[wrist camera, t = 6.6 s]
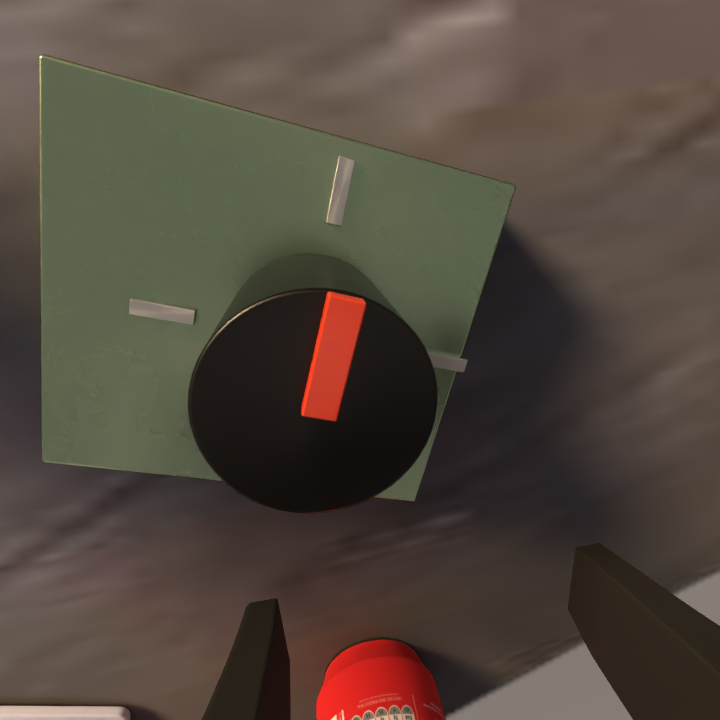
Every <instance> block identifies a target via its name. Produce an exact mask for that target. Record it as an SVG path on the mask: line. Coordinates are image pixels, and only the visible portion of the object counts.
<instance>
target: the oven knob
mask: <svg viewBox="0 0 720 720" xmlns="http://www.w3.org/2000/svg"><path fill="white" fill-rule="evenodd" d="M437 403H438V390H437V382H436V375H435V371H434V368H433V365H432V362H431V359H430V357H429V355H428V353H427V351H426V348H425V346H424V345H423V343H422V342H421V340H420V339H419V337H418V336H417V334H416V333H415V332H414V331H413V330H412V328H411V327H410V326H409V325H408V324H407V322H406V321H405V320H404V319H403V318H402V317H401V315H400V314H399V313H398V312H397V311H396V310H395V308H394V307H393V306H392V305H391V304H390V303H389V301H388V300H387V299H386V298H385V297H384V296H383V294H382V293H381V292H380V291H379V290H378V289H377V287H376V286H375V285H374V284H373V283H372V282H371V281H370V280H369V278H368V277H366V276H365V275H364V274H363V273H362V272H360V271H359V270H358V269H356V268H354V267H353V266H351V265H350V264H347V263H345V262H343V261H341V260H338V259H335V258H332V257H328V256H322V255H311V254H304V255H294V256H290V257H286V258H282V259H279V260H277V261H274V262H272V263H270V264H268V265H266V266H265V267H263V268H261V269H260V270H259V271H257V272H256V273H254V274H253V275H252V276H251V277H250V278H249V279H248V280H247V281H246V282H245V283H244V284H243V286H242V287H241V288H240V290H239V291H238V292H237V294H236V296H235V297H234V299H233V301H232V302H231V304H230V305H229V307H228V309H227V310H226V312H225V314H224V315H223V317H222V319H221V320H220V322H219V323H218V325H217V327H216V328H215V330H214V332H213V333H212V335H211V337H210V338H209V340H208V341H207V343H206V345H205V346H204V348H203V350H202V352H201V354H200V355H199V357H198V359H197V362H196V364H195V367H194V369H193V372H192V375H191V380H190V385H189V389H188V415H189V422H190V426H191V430H192V434H193V437H194V439H195V442H196V444H197V447H198V449H199V451H200V453H201V454H202V456H203V458H204V459H205V461H206V463H207V464H208V465H209V466H210V468H211V469H212V470H213V471H214V473H215V474H216V475H217V476H218V477H219V478H220V479H221V480H222V481H223V482H225V483H226V484H227V485H228V486H229V487H231V488H232V489H233V490H235V491H236V492H238V493H239V494H241V495H243V496H245V497H246V498H248V499H250V500H252V501H254V502H257V503H259V504H262V505H264V506H267V507H271V508H274V509H278V510H283V511H289V512H296V513H322V512H329V511H336V510H340V509H344V508H348V507H352V506H354V505H357V504H360V503H362V502H365V501H367V500H369V499H371V498H373V497H375V496H377V495H379V494H380V493H382V492H383V491H385V490H386V489H388V488H389V487H391V486H392V485H393V484H394V483H396V482H397V481H398V480H399V479H400V478H402V476H403V475H404V474H405V473H406V472H407V471H408V470H409V469H410V468H411V467H412V466H413V464H414V463H415V462H416V460H417V459H418V458H419V456H420V455H421V453H422V451H423V449H424V448H425V446H426V444H427V442H428V439H429V437H430V435H431V432H432V429H433V425H434V422H435V418H436V411H437Z"/></svg>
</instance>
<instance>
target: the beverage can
mask: <svg viewBox="0 0 720 720" xmlns="http://www.w3.org/2000/svg"><path fill="white" fill-rule="evenodd" d="M316 710H317V720H446V718H445V715H444V711H443V708H442V704H441V701H440V697H439V694H438V690H437V687H436V683H435V680H434V678H433V676H432V674H431V673H430V671H429V670H428V669H427V668H426V667H425V666H424V664H423V663H422V662H421V661H420V659H419V656H418V654H417V653H416V651H415V650H414V649H413V648H412V647H411V646H409V645H408V644H406V643H404V642H402V641H399V640H395V639H389V638H375V639H369V640H364V641H361V642H358V643H355V644H353V645H351V646H349V647H347V648H345V649H344V650H342V651H341V652H340V653H338V654H337V655H336V656H335V657H334V658H333V659H332V661H331V662H330V663H329V665H328V667H327V669H326V672H325V677H324V683H323V686H322V688H321V691H320V693H319V696H318V699H317V705H316Z"/></svg>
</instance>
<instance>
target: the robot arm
mask: <svg viewBox="0 0 720 720" xmlns="http://www.w3.org/2000/svg"><path fill="white" fill-rule="evenodd" d="M568 610H569V612H570V614H571V616H572V618H573V620H574V622H575V624H576V626H577V628H578V630H579V632H580V634H581V636H582V638H583V640H584V642H585V644H586V645H587V647H588V649H589V651H590V653H591V655H592V656H593V658H594V659H595V661H596V663H597V664H598V666H599V668H600V669H601V671H602V672H603V674H604V675H605V677H606V678H607V680H608V681H609V683H610V685H611V686H612V688H613V689H614V691H615V692H616V694H617V695H618V697H619V699H620V700H621V702H622V703H623V705H624V706H625V708H626V709H627V711H628V712H629V714H630V715H631V717H632V718H633V720H720V626H719V625H717V624H716V623H714V622H713V621H711V620H710V619H708V618H707V617H705V616H704V615H702V614H701V613H699V612H697V611H696V610H695V609H693V608H692V607H690V606H689V605H687V604H686V603H684V602H683V601H681V600H680V599H679V598H677V597H676V596H674V595H673V594H671V593H670V592H669V591H667V590H666V589H664V588H663V587H661V586H660V585H659V584H657V583H656V582H654V581H653V580H651V579H650V578H649V577H647V576H646V575H644V574H643V573H641V572H640V571H639V570H637V569H636V568H634V567H633V566H632V565H630V564H629V563H627V562H626V561H625V560H623V559H622V558H620V557H619V556H617V555H616V554H615V553H613V552H612V551H610V550H609V549H607V548H606V547H604V546H603V545H601V544H600V543H598V544H592V545H586V546H580V547H576V550H575V558H574V565H573V573H572V581H571V588H570V596H569V604H568ZM130 717H131V714H130V711H129V710H128V709H127V708H125V707H120V706H0V720H130ZM202 720H290V660H289V655H288V650H287V645H286V640H285V635H284V630H283V625H282V620H281V615H280V610H279V605H278V600H277V598H276V599H270V600H264V601H258V602H252V603H250V604H249V605H248V606H247V607H246V609H245V612H244V616H243V619H242V622H241V625H240V628H239V630H238V633H237V636H236V639H235V642H234V644H233V647H232V650H231V652H230V655H229V657H228V660H227V662H226V665H225V667H224V670H223V672H222V675H221V677H220V679H219V681H218V684H217V686H216V688H215V691H214V693H213V695H212V698H211V700H210V702H209V705H208V707H207V709H206V712H205V714H204V716H203V718H202Z"/></svg>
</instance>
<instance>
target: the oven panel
mask: <svg viewBox="0 0 720 720" xmlns="http://www.w3.org/2000/svg"><path fill="white" fill-rule="evenodd" d="M39 135H40V309H41V460H42V461H43V462H48V463H57V464H66V465H76V466H85V467H94V468H104V469H113V470H122V471H131V472H141V473H150V474H159V475H169V476H178V477H187V478H196V479H206V480H215V481H222V480H221V479H220V478H219V477H218V476H217V475H216V474H215V473H214V471H213V470H212V469H211V468H210V466H209V465H208V464H207V463H206V461H205V459H204V458H203V456H202V454H201V453H200V451H199V449H198V447H197V444H196V442H195V439H194V437H193V434H192V430H191V426H190V422H189V415H188V389H189V385H190V380H191V375H192V372H193V369H194V367H195V364H196V362H197V359H198V357H199V355H200V354H201V352H202V350H203V348H204V346H205V345H206V343H207V341H208V340H209V338H210V337H211V335H212V333H213V332H214V330H215V328H216V327H217V325H218V323H219V322H220V320H221V319H222V317H223V315H224V314H225V312H226V310H227V309H228V307H229V305H230V304H231V302H232V301H233V299H234V297H235V296H236V294H237V292H238V291H239V290H240V288H241V287H242V286H243V284H244V283H245V282H246V281H247V280H248V279H249V278H250V277H251V276H252V275H253V274H254V273H256V272H257V271H259V270H260V269H261V268H263V267H265V266H266V265H268V264H270V263H272V262H274V261H277V260H279V259H282V258H286V257H290V256H294V255H304V254H311V255H322V256H328V257H332V258H335V259H338V260H341V261H343V262H345V263H347V264H350V265H351V266H353V267H354V268H356V269H358V270H359V271H360V272H362V273H363V274H364V275H365V276H366V277H368V278H369V280H370V281H371V282H372V283H373V284H374V285H375V286H376V287H377V289H378V290H379V291H380V292H381V293H382V294H383V296H384V297H385V298H386V299H387V300H388V301H389V303H390V304H391V305H392V306H393V307H394V308H395V310H396V311H397V312H398V313H399V314H400V315H401V317H402V318H403V319H404V320H405V321H406V322H407V324H408V325H409V326H410V327H411V328H412V330H413V331H414V332H415V333H416V334H417V336H418V337H419V339H420V340H421V342H422V343H423V345H424V346H425V348H426V351H427V353H428V355H429V357H430V359H431V362H432V365H433V368H434V371H435V375H436V382H437V390H438V403H437V411H436V418H435V422H434V425H433V429H432V432H431V435H430V437H429V439H428V442H427V444H426V446H425V448H424V449H423V451H422V453H421V455H420V456H419V458H418V459H417V460H416V462H415V463H414V464H413V466H412V467H411V468H410V469H409V470H408V471H407V472H406V473H405V474H404V475H403V476H402V478H400V479H399V480H398V481H397V482H396V483H394V484H393V485H392V486H391V487H389V488H388V489H386V490H385V491H383V492H382V493H380V494H379V495H377V496H375V497H373V498H382V499H391V500H401V501H410V502H414V501H415V499H416V496H417V493H418V490H419V486H420V483H421V480H422V477H423V474H424V471H425V468H426V465H427V462H428V459H429V455H430V452H431V449H432V446H433V443H434V440H435V437H436V434H437V431H438V428H439V424H440V421H441V418H442V415H443V412H444V409H445V406H446V403H447V400H448V396H449V393H450V390H451V387H452V384H453V381H454V378H455V375H456V372H457V371H458V372H464V370H465V367H466V364H467V361H468V360H467V359H466V358H462V357H461V356H462V353H463V350H464V347H465V344H466V341H467V337H468V334H469V331H470V328H471V325H472V322H473V319H474V316H475V313H476V310H477V306H478V303H479V300H480V297H481V294H482V291H483V288H484V285H485V282H486V279H487V275H488V272H489V269H490V266H491V263H492V260H493V257H494V254H495V251H496V247H497V244H498V241H499V238H500V235H501V232H502V229H503V226H504V223H505V220H506V216H507V213H508V210H509V207H510V204H511V201H512V198H513V195H514V192H515V189H516V186H515V185H514V184H511V183H508V182H504V181H501V180H497V179H493V178H490V177H486V176H482V175H479V174H475V173H472V172H468V171H464V170H461V169H457V168H453V167H450V166H446V165H443V164H439V163H435V162H432V161H428V160H425V159H421V158H417V157H414V156H410V155H406V154H403V153H399V152H396V151H392V150H388V149H385V148H381V147H377V146H374V145H370V144H367V143H363V142H359V141H356V140H352V139H349V138H345V137H341V136H338V135H334V134H330V133H327V132H323V131H320V130H316V129H312V128H309V127H305V126H301V125H298V124H294V123H291V122H287V121H283V120H280V119H276V118H273V117H269V116H265V115H262V114H258V113H254V112H251V111H247V110H244V109H240V108H236V107H233V106H229V105H225V104H222V103H218V102H215V101H211V100H207V99H204V98H200V97H196V96H193V95H189V94H186V93H182V92H178V91H175V90H171V89H168V88H164V87H160V86H157V85H153V84H149V83H146V82H142V81H139V80H135V79H131V78H128V77H124V76H120V75H117V74H113V73H110V72H106V71H102V70H99V69H95V68H92V67H88V66H84V65H81V64H77V63H73V62H70V61H66V60H63V59H59V58H55V57H52V56H48V55H40V57H39Z"/></svg>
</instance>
